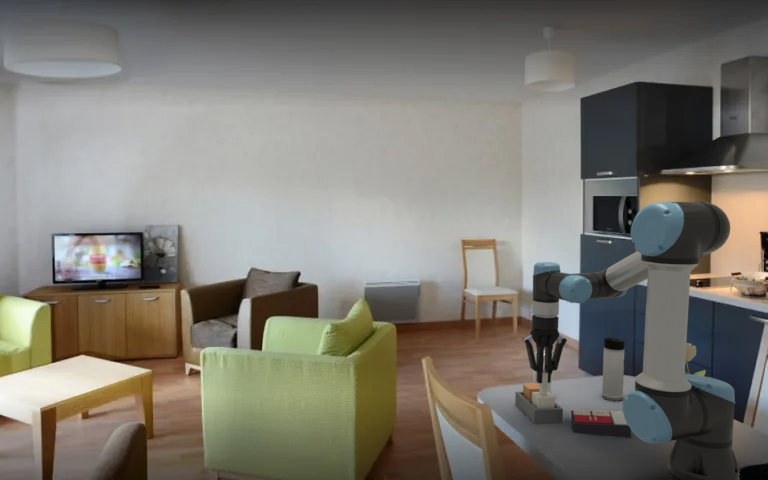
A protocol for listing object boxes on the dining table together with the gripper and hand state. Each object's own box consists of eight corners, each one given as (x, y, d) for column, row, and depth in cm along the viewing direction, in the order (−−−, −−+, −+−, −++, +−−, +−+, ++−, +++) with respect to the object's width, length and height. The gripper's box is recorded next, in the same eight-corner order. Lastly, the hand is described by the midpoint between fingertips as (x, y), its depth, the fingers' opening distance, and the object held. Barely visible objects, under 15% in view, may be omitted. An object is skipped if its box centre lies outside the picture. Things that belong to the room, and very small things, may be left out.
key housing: (562, 422, 176) (562, 408, 175) (534, 423, 175) (534, 410, 174) (541, 403, 192) (541, 390, 191) (515, 404, 191) (515, 391, 190)
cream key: (554, 410, 177) (554, 397, 177) (538, 411, 176) (538, 397, 176) (547, 404, 182) (548, 391, 182) (531, 405, 181) (532, 392, 181)
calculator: (570, 407, 179) (625, 409, 175) (571, 421, 179) (625, 423, 175) (573, 421, 168) (630, 423, 164) (573, 436, 168) (631, 438, 165)
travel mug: (597, 396, 198) (599, 336, 197) (612, 393, 201) (614, 334, 199) (611, 402, 192) (613, 341, 191) (626, 399, 195) (629, 339, 194)
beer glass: (527, 394, 200) (528, 350, 199) (545, 392, 202) (547, 348, 201) (538, 401, 193) (540, 355, 192) (557, 399, 195) (559, 353, 194)
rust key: (544, 401, 185) (544, 388, 184) (528, 402, 184) (529, 389, 184) (538, 396, 190) (538, 383, 189) (523, 396, 189) (523, 384, 189)
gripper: (561, 312, 182) (558, 388, 184) (519, 312, 180) (517, 390, 182) (572, 317, 174) (569, 396, 176) (528, 318, 173) (526, 398, 175)
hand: (543, 393), depth 179 cm, fingers closed
